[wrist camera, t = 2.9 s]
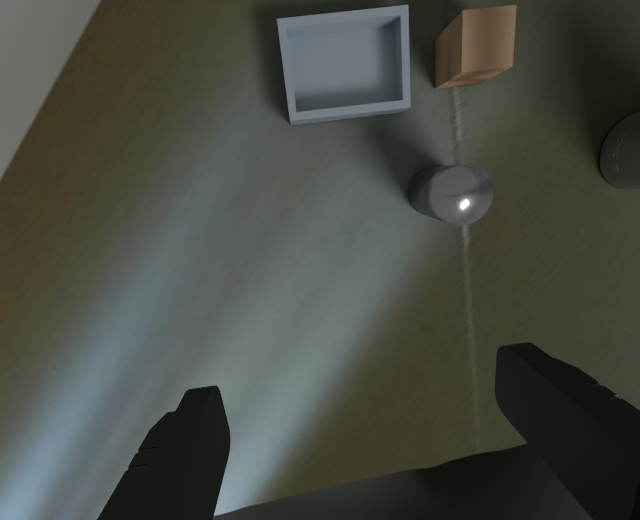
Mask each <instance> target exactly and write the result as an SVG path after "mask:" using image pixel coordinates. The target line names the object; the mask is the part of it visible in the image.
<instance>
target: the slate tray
mask: <svg viewBox="0 0 640 520" xmlns="http://www.w3.org/2000/svg"><path fill="white" fill-rule="evenodd" d="M277 24H278V32H279V40H280V47H281V55H282V63H283V71H284V79H285V86H286V94H287V102H288V110H289V118H290V123H291V125H299V124H308V123H316V122H325V121H334V120H343V119H352V118H360V117H369V116H378V115H387V114H396V113H402V112H404V111H406V110H407V109H409V108H411V101H410V56H409V11H408V5H401V6H392V7H382V8H373V9H364V10H354V11H345V12H336V13H326V14H317V15H308V16H298V17H289V18H280V19H277Z"/></svg>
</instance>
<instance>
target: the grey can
mask: <svg viewBox="0 0 640 520" xmlns="http://www.w3.org/2000/svg"><path fill="white" fill-rule="evenodd" d="M493 193H494V188H493V183H492V180H491V178H490V176H489V175H488V173H487V172H486V171H485V170H483V169H482V168H480V167H478V166H475V165H451V166H431V167H427V168H424V169H422V170H421V171H419V172H418V173H417V174H416V175H415V176H414V177H413V179H412V180H411V182H410V185H409V189H408V198H409V201H410V204H411V206H412V207H413V208H414V209H415V210H416V211H417V212H419V213H421V214H424V215H427V216H429V217H432V218H435V219H438V220H441V221H444V222H447V223H449V224H452V225H458V226H462V225H468V224H471V223H473V222H475V221H477V220H478V219H480V218H481V217H482V216H483V215H484V214H485V213H486V212H487V210H488V209H489V207H490V205H491V202H492V199H493Z"/></svg>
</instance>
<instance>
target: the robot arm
mask: <svg viewBox="0 0 640 520" xmlns="http://www.w3.org/2000/svg"><path fill="white" fill-rule="evenodd" d="M600 168H601V172H602V174H603V177H604V178H605V179H606V180H607V182H609V183H610V184H611V185H613V186H615V187H618V188H626V189H640V111H639V112H636V113H633V114H631V115H629V116H627V117H625V118H624V119H622V120H621V121H620V122H619V123H617V124H616V125H615V127H614V128H613V129H612V130H611V131H610V133H609V134H608V136H607V137H606V139H605V141H604V144H603V146H602V149H601V153H600ZM495 397H496V400H497V403H498V406H499V408H500V410H501V411H502V413H503V414H504V416H505V417H506V418H507V419H508V420H509V422H510V423H511V424H512V425H513V426H514V427H515V429H516V430H517V431H518V432H519V433H520V434H521V436H522V437H523V438H524V439H525V440H526V441H527V443H528V444H529V445H530V446H531V447H532V448H533V450H534V451H535V452H536V453H537V454H538V456H539V457H540V458H541V459H542V460H543V461H544V463H545V464H546V465H547V466H548V467H549V468H550V470H551V471H552V472H553V473H554V474H555V476H556V477H557V478H558V479H559V480H560V481H561V482H562V484H563V485H564V486H565V487H566V488H567V489H568V491H569V492H570V493H571V494H572V495H573V497H574V498H575V499H576V500H577V501H578V502H579V504H580V505H581V506H582V507H583V508H584V510H585V511H586V512H587V513H588V514H589V515H590V517H591V518H592V519H593V520H640V411H639V410H638V409H637V408H635V407H634V406H632V405H631V404H629V403H628V402H626V401H625V400H624V399H619V398H618V396H617V395H616V394H615V393H613V392H612V391H611V390H609V389H608V388H606V387H605V386H601V385H600V383H599V382H598V381H596V380H595V379H593V378H592V377H590V376H589V375H588V374H586V373H585V372H583V371H582V370H580V369H579V368H577V367H574V366H572V365H570V364H567V363H565V362H563V361H561V360H558V359H556V358H552V357H550V356H549V355H548V354H546V353H545V352H544V351H542V350H541V349H539V348H538V347H537V346H535V345H534V344H532V343H529V342H526V343H519V344H512V345H505V346H500V347H499V348H498V351H497V360H496V377H495ZM138 450H139V451H138V453H136V454H135V456H134V458H133V459H132V461H131V463H130V465H129V466H128V467H129V468H128V471H125V473H124V475H123V476H122V478H121V480H120V482H119V483H118V485H117V487H116V488H115V490H114V492H113V494H112V495H111V497H110V499H109V500H108V502H107V504H106V505H105V507H104V509H103V511H102V512H101V514H100V516H99V517H98V519H97V520H213V516H214V512H215V508H216V504H217V500H218V496H219V492H220V488H221V484H222V480H223V476H224V472H225V468H226V464H227V460H228V456H229V451H230V430H229V425H228V421H227V417H226V413H225V409H224V405H223V401H222V397H221V393H220V390H219V388H218V387H217V386H209V387H202V388H195V389H189V390H187V391H186V393H185V394H184V396H183V398H182V400H181V402H180V404H179V406H178V408H177V409H176V411H174V412H167V413H166V414H165V415H164V416H163V417H162V418H161V419H160V420H159V421H158V422H157V423H156V424H155V425H154V426H153V427H152V428H151V429H150V430H149V432H148V434H147V436H146V437H145V439H144V441H143V442H142V444H141V446H140V448H139V449H138Z"/></svg>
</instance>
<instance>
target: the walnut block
mask: <svg viewBox="0 0 640 520" xmlns="http://www.w3.org/2000/svg"><path fill="white" fill-rule="evenodd" d="M516 7H517V5H509V6H499V7H490V8H480V9H471V10H463V11H462V12H461V13H460V14H459V15H458V16H457V17H456V18H455V19H454V20H453V21H452V22H451V23H450V24H449V25H448V26H447V27H446V28H445V29H444V30H443V31H442V32H441V33H440V34H439V35H438V36H437V37H436V38H435V89H441V88H450V87H459V86H468V85H477V84H480V83H482V82H484V81H486V80H488V79H490V78H491V77H493V76H495V75H497V74H499V73H501V72H503V71H505V70H507V69H509V68H511V67H513V53H514V38H515V23H516Z"/></svg>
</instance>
